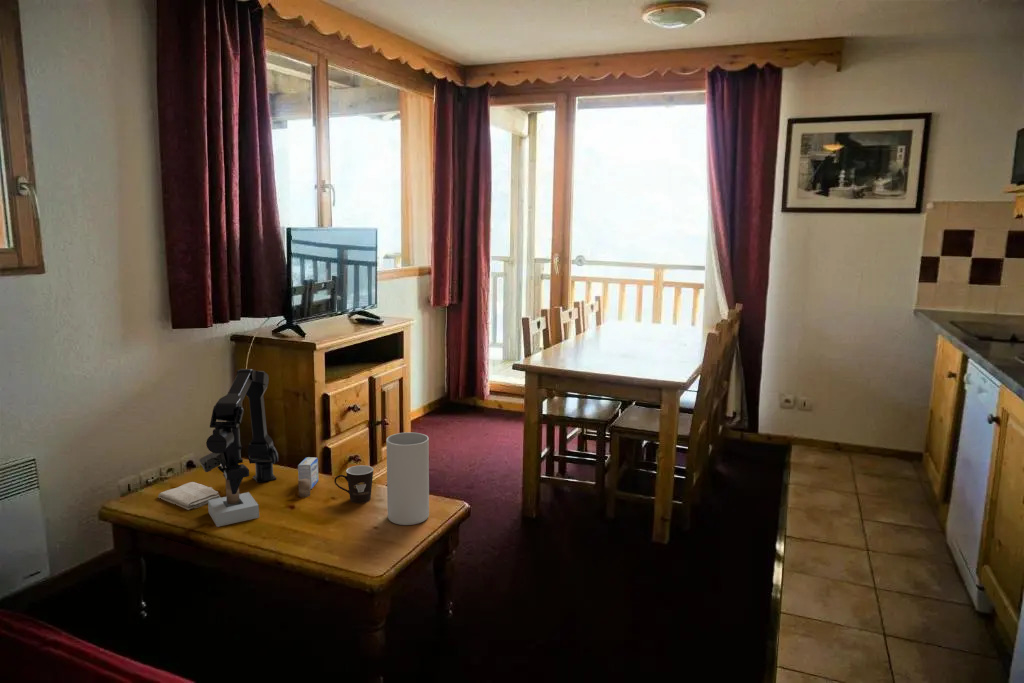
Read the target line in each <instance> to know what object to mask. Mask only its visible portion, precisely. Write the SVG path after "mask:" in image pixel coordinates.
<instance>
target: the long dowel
mask: <svg viewBox="0 0 1024 683" xmlns="http://www.w3.org/2000/svg"><path fill="white" fill-rule="evenodd" d="M224 478H225V477H224ZM225 494H226V496H225V497H226V498H227V504H236V503H238V502H239V501H240V500H239V494H240V488H238V490H237V493H236V494H232V492H231V488H230V484H229V480H227V479H226V478H225Z"/></svg>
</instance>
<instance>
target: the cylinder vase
mask: <svg viewBox="0 0 1024 683" xmlns="http://www.w3.org/2000/svg"><path fill="white" fill-rule="evenodd" d="M429 440H430V439H429V436H428V435H426V434H424V433H420V432H399V433H394V434H391V435H388V437H387V438H386V486H387V487H386V490H387V491H386V492H387V493H386V494H387V496H386V498H387V500H386V502H387V509H386V510H387V519H388V520H389V522H391V523H393V524H396V525H398V526H411V525H412V526H413V525H417V524H421V523H423V522H425V521H426V520H427V519H428V518H429V516H430V479H429V478H430V470H429V469H430V462H429V460H430V457H429V456H430V455H429V454H430V453H429V450H430V447H429V446H430V445H429V444H430V443H429Z"/></svg>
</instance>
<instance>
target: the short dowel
mask: <svg viewBox="0 0 1024 683" xmlns="http://www.w3.org/2000/svg"><path fill="white" fill-rule="evenodd" d="M298 497H299V498H308V497H311V489H310V480H309V479H301V480H299V479H298Z"/></svg>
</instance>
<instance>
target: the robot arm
mask: <svg viewBox="0 0 1024 683" xmlns="http://www.w3.org/2000/svg"><path fill="white" fill-rule="evenodd" d="M269 379H270V377H269V374H268V373H267V372H265V371H264V370H256V369H252V368H240V369H237V371H236V377H234V380H233V382H232V384H231V386H230V388H229V390H228V392H227V394H226V395H224V396H222V397H220V398H219V399H218V400H217V402H216V403H215V405H214V406H213V408H212V412H211V419H210V423H209V428H210V429H211V428H213V430H212V434H210V436H209V437H207V439H206V449H208V451H209V452H210V453H208V454H206V455H204V456H203V457H200V458H199V459H198V461H199V463H200V465H201V467H202V469H203V470H204V472H205V473H208V472H211V471H212V470H214V469H215V468H217V469H218V470H219V471H220V472H222V476H223V477H224V478H226V479H227V480H229V484H230V488H231V492H232V494H236V493H237V490H238V488H239V487H240V485H241V483H242V481H243V479H244V478H247V477H250V470H249V467H247V465H245V464H244V461H243V460H244V458H242V456H241V455H242V453H241V452H242V450H243V446H242V445H241V432H240V425H241V424H242V421H243V416H244V412H245V410H244V408H243V401H244V399H245V397H247V398H248V404H249V413H250V414H249V415H250V423H251V424H250V425H251V432H252V434H251V435H252V439H251V440H250V442H249V443H248V446H247V458H248V463H249V465H250V464H254V466H255V467H254V468H255V469H254V470H255V475H253V476H252V478H253V480H255V482H256V483H263V482H264V483H265V482H269V481H275V480H277V477H276V475H275V474H274V467H273V466H274V464H276V463H278V462H279V452H278V450H277V448H276V447H275V446H274V441H273V439H272V437H271V436H270V435H269V434H268V429H267V420H266V417H267V416H266V409H265V408H266V407H265V398H264V395H265V392H266V391H267V389H268V386H269V381H270V380H269ZM241 463H242V464H241ZM239 489H240V488H239Z"/></svg>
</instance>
